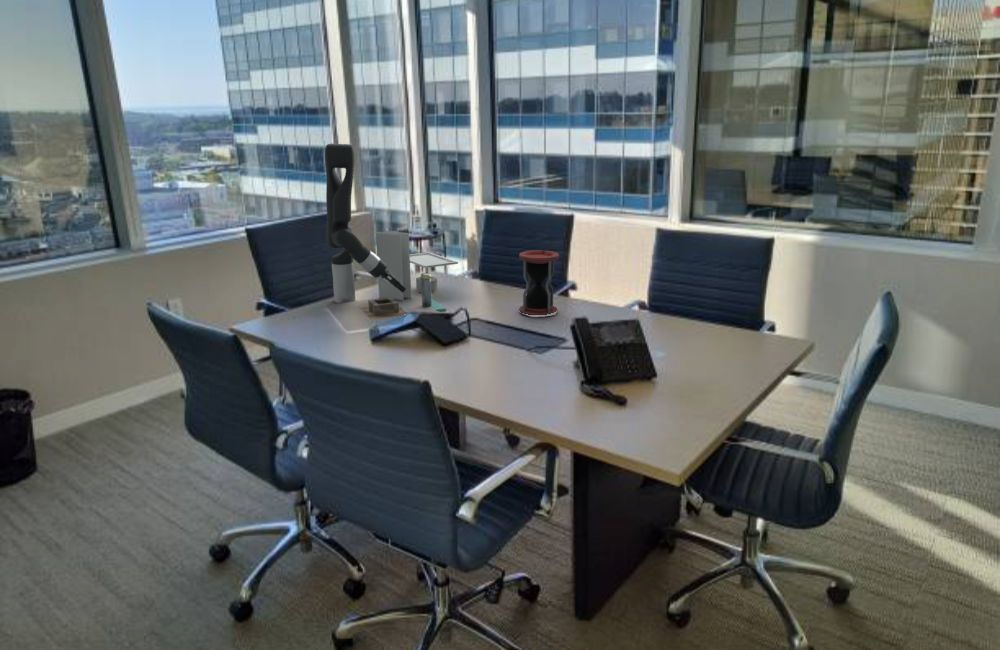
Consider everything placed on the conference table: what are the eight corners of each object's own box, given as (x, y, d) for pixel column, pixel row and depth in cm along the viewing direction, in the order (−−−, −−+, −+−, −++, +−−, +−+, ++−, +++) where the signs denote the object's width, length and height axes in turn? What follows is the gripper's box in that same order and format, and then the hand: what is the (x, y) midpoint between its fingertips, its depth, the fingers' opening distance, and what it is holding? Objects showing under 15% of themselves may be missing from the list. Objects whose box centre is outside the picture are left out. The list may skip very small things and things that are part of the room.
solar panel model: (458, 293, 318) (457, 261, 314) (425, 298, 309) (424, 266, 305) (429, 281, 340) (429, 251, 336) (398, 286, 331) (397, 255, 326)
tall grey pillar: (411, 300, 307) (408, 233, 298) (403, 303, 302) (400, 235, 293) (387, 295, 314) (384, 230, 305) (379, 298, 310) (375, 232, 301)
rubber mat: (408, 305, 298) (408, 303, 297) (434, 302, 303) (434, 300, 302) (419, 314, 286) (418, 311, 285) (446, 310, 291) (445, 308, 290)
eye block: (359, 309, 292) (358, 298, 290) (395, 305, 298) (394, 293, 297) (371, 322, 275) (370, 309, 273) (409, 317, 281) (409, 305, 280)
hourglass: (565, 313, 286) (567, 254, 279) (534, 320, 277) (535, 259, 270) (541, 305, 299) (542, 248, 291) (511, 311, 290) (511, 252, 283)
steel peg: (420, 305, 295) (419, 273, 291) (429, 304, 296) (428, 272, 292) (423, 307, 291) (422, 275, 287) (433, 306, 293) (432, 274, 289)
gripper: (383, 260, 273) (412, 285, 281) (374, 253, 285) (401, 277, 293) (371, 274, 272) (400, 299, 280) (362, 267, 285) (390, 291, 293)
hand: (401, 288), depth 287 cm, fingers open, 8 cm apart
